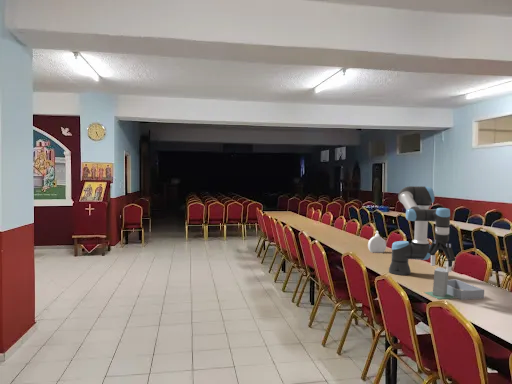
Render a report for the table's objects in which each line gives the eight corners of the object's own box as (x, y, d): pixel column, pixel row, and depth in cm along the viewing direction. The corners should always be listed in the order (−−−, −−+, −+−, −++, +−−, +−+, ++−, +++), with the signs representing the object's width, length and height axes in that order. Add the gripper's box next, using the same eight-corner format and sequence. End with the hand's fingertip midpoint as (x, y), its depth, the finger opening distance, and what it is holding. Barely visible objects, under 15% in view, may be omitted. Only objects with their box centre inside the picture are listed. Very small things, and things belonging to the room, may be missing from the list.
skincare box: (435, 291, 225) (436, 266, 225) (448, 294, 221) (449, 268, 220) (431, 295, 219) (432, 269, 218) (444, 298, 214) (445, 271, 214)
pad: (424, 292, 225) (424, 292, 225) (441, 291, 227) (441, 291, 227) (438, 299, 213) (438, 298, 213) (455, 298, 216) (455, 297, 216)
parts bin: (434, 288, 234) (435, 280, 234) (456, 286, 238) (456, 279, 238) (461, 299, 213) (461, 291, 213) (483, 298, 216) (484, 289, 216)
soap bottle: (383, 251, 348) (384, 230, 347) (386, 252, 343) (386, 231, 342) (367, 251, 347) (368, 230, 346) (369, 252, 342) (370, 231, 341)
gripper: (422, 230, 230) (421, 263, 231) (452, 238, 206) (450, 274, 207) (433, 230, 231) (431, 262, 233) (463, 237, 207) (461, 274, 209)
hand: (440, 268), depth 220 cm, fingers open, 13 cm apart
